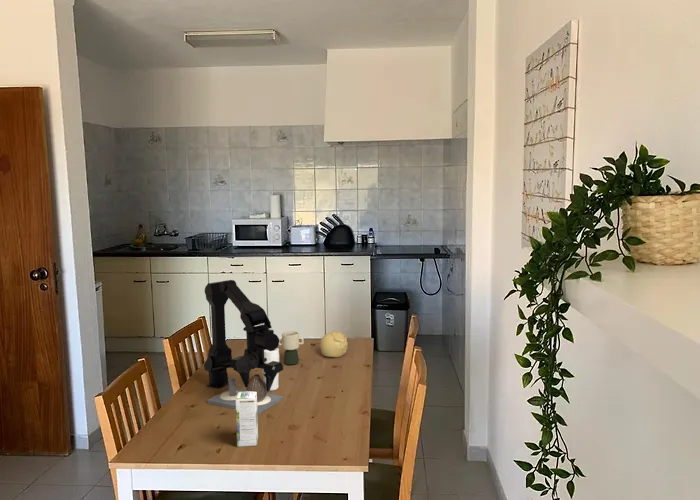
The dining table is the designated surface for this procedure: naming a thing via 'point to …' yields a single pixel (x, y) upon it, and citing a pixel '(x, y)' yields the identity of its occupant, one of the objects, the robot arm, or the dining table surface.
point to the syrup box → (246, 419)
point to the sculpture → (333, 344)
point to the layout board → (231, 394)
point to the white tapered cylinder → (270, 357)
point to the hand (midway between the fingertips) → (257, 389)
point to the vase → (257, 387)
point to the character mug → (291, 346)
